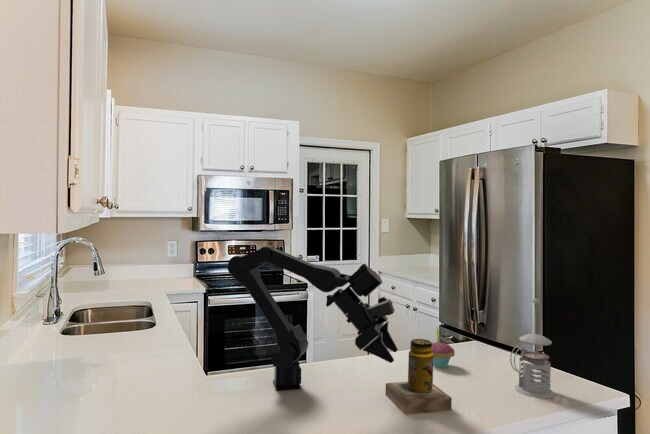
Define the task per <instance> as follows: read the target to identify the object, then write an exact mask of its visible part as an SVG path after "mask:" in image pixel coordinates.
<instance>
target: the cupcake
mask: <svg viewBox="0 0 650 434" xmlns="http://www.w3.org/2000/svg"><path fill="white" fill-rule="evenodd" d="M431 343H432V353H433V368H434V367H435V368H437V369H438V368H439V369H445V368H448V365H449V363H450V360H451V358H453V357H454V356H455V354H456V353H455V352H456V351H455V349H454V348H453V347H452V346H451V345H450V344H449V343H444V342H440V332H439V328H438V327H436V342H435V341H434V342H431Z"/></svg>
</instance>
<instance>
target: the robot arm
mask: <svg viewBox="0 0 650 434" xmlns="http://www.w3.org/2000/svg"><path fill="white" fill-rule="evenodd" d="M266 263H270V264H271V265H275V266H276V267H279V268H281V269H284V270H285V271H288V272H290V273H293V274H295V275H297V276H299V277H302V278H303V279H305V280H306V281H307V282H309V284H310V285H312V286H313V287H314V288H316V289H318V290H320V291H321V292H323V293H330V292H332V291H335V290H336V289H337V290H336V291H335V292H333V293H332V294H328V295H326V304H325V306H326V307H327V308H328V307H330V306H331V305H332V304H335V305H336V307H337V308H338V309H339V310H340V311H341V312H342V314H343V315H344V316H345V317H346V318H347V319H346V322H347V323H348V324H350V323H351V325H353V326H354V328H355V329H356V330H357V332H356V334H357V336H356V337H355V338H354V339H355V340H354V341H355V343H354V345H355V346H356V348H358V350H359V351H363V352H367V353H369V354H371V355H373V356H376V357H378V358H380V359H381V360H383V361H386V362H388V363H390V364H392V363H394V361H395V359H394V357H393V355H392V353H391V352H393V353H397V351H398V347H397V345H396V343H395V341H394V340H393V337H392V336H391V334H390V332H389V331H390V330H389V320H388V319H389V318H388V316H390V315H393V314H394V313H395V312H396V310H395V307H394V305H393V301H392V300H391V299H390V298H389V299H387V298H386V297H385V296H382V297H379V298H378V300H377V303H375V304H373V305H370V304H369V303H368V302H365V303H364V302H363V301H362V300H361V299H360V298H361V297H362V296H363V297H365V298H367V297H368V296H369V295H370V294H372V292H374V291H375V290H376V289H378V287H380V285H382V284H383V280H382V278H381V277H380V275H379V274H378V273H377V272H376V271H375V270H373V268H371V267H369V266H368V265H367V264H366V263H363V264H361V265H360V266H359V267H358V269H357V270H356V271H355V272H353V273H352V274H351V275H350V274H346V273H341V272H340V271H339V269H337V268H334V267H330V266H326V265H319V264H315V263H310V262H309V261H305V260H303V259H301V258H299V257H296V256H294V255H292V254H290V253H287V252H285V251H283V250H280V249H278V248H276V247H275V246H272V245H267V246H263V247H261V248H260V249H257V250H254V251H252V252H250V253H247V254H240V255H234V256H232V257H231V258H230V259H229V261H228V262H227V266H226V268H227V271H228V273H229V274H230V275H231V276H232V277H233V279H234V280H235V281H236V282H237V283H238V284H240V285H241V286H242V287H244V288H245V289H246V290H247V291H248V293H249V295H250V296H251V298H252V300H253V301H254V302H255V304H256V306H257V308H259V311H260V312H261V313H262V315H263V316H264V318H265V319H266V321H267V323H268V324H269V326H270V327H271V329H272V331H273V332H274V336H275V340H276V341H275V342H276V343H275V344H276V346H277V347H278V352H277V353H275V354H274V355H273V356H272V357H271V362H272V363H271V364H272V366H273V367H274V375H273V377H274V378H273V380H272V383H273V385H274V388H275V390H276V391H281V390H283V391H285V390H286V391H287V390H296V389H298V390H299V389H301V384H302V367H301V366H300V361H298V360H300V359H301V357H302V355H304V354H305V353H306V352H307V351H308V348H309V341H308V337H309V336H308V334H306V333H305V332H304V330H303V328H302V326H301V325H300V324H297V325H295V326H294V325H293V324H292V323H290V322H289V320H288V319H287V317H286V316H285V314H284V312H283V311H282V309H281V308H280V306H279V305H278V303H277V302H276V300H275V298H274V297H273V295H272V294H271V292H270V291H269V289H268V288H267V286H266V285H265V283H264V282H263V279H262V276H261V271H260V268H259V267H260V266H262V265H265V264H266ZM348 284H349V285H348ZM346 285H348V286H347V287H346V288H344V289H342V288H341V287H344V286H346ZM389 350H390V351H391V352H390V351H389Z"/></svg>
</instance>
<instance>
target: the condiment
mask: <svg viewBox="0 0 650 434" xmlns="http://www.w3.org/2000/svg"><path fill="white" fill-rule="evenodd" d="M432 343H433V342H432V341H431V340H429V339H423V338H415V339H412V340H411V341H410V346H409V349H410V350H409V352H408V367H407V369H408V370H407V382H408V383H403V384H401V383H396V385H397V386H398V387H399V389H400V390H401V391H402V392H403V393H404V394H405V395H417V394H418V395H426V394H438V392H436V391H435V390H434V389H433V388H432V386H433V384H434V366H433V353H432Z"/></svg>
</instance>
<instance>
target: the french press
mask: <svg viewBox="0 0 650 434" xmlns="http://www.w3.org/2000/svg"><path fill="white" fill-rule="evenodd" d="M531 302H532V303H533V304H540V303H541V300H540V299H539V298H533V299H532V301H531ZM534 313H535V314H534V315H535V318H534V319H535V320H534V321H535V324H534V333H527V334H524V335H521V336H520V337H519V338H518V339H519V342H521V343H524V344H527V345H530V346H531V345H532V346H539V347H540V346H543V347H545V346H550V345H552V340H550V339H549V338H547V337H546V336H543V335H542V334H538V333H536V332H537V308H535V312H534ZM517 347H519V348H518V349H517V350H516V348H517ZM522 348H523V350H522ZM515 350H516V351H515ZM514 351H515V353H514V357H513V356H512V355H513V352H514ZM519 351H520V356H521V357H519V362H518V364H519V365H518V366H519V367H518V368H517V366H516V356H517V353H518V352H519ZM509 356H510V357H509V358H510V361H509V362H510V366H511V368H512V369H513V370H514V371H516V372H517V373H518V384H517V385H515V386H514V390H515V391H516V392H517V393H519V394H522V395H524V396H526V397H529V398H536V399H551V398H553V397H555V393H554V391H553V390H552V389H551V371H552V370H551V369H552V368H551V367H552V366H551V365H552V364H551V361H549V360H550V358H551V357H550V356H549V355H548V354H546V353H543V352H538V351H532V350H526V351H525V346H522V345H521V344H518V345H516V346H514V348H512V351H511V353H510V355H509ZM512 357H513V363H512ZM525 361H526V362H525ZM513 364H514V365H513ZM534 370H535V371H534ZM535 375H536V376H535ZM537 380H538V381H537Z"/></svg>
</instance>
